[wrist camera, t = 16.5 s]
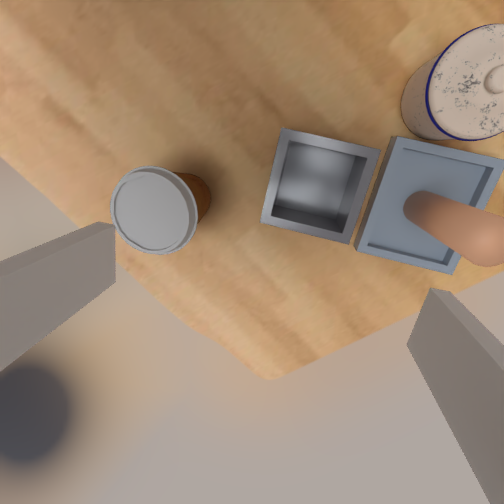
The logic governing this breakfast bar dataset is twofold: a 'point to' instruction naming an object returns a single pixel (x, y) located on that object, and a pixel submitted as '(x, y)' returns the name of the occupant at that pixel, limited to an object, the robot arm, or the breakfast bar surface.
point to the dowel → (459, 227)
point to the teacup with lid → (459, 89)
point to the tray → (422, 179)
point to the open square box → (318, 185)
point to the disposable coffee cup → (158, 208)
